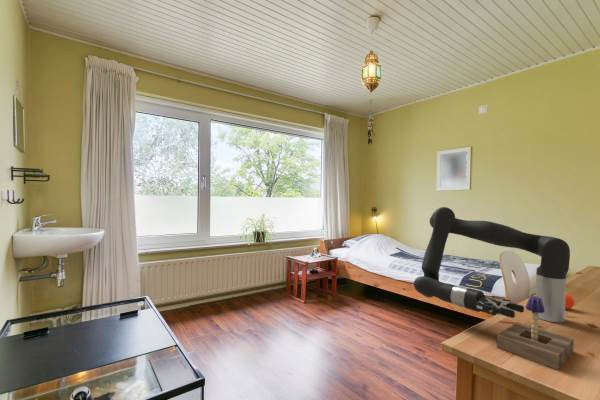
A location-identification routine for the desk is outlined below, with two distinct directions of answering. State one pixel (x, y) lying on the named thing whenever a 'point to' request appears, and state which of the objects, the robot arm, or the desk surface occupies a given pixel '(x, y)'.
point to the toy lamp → (535, 314)
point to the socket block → (536, 345)
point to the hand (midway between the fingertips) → (519, 312)
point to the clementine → (568, 301)
